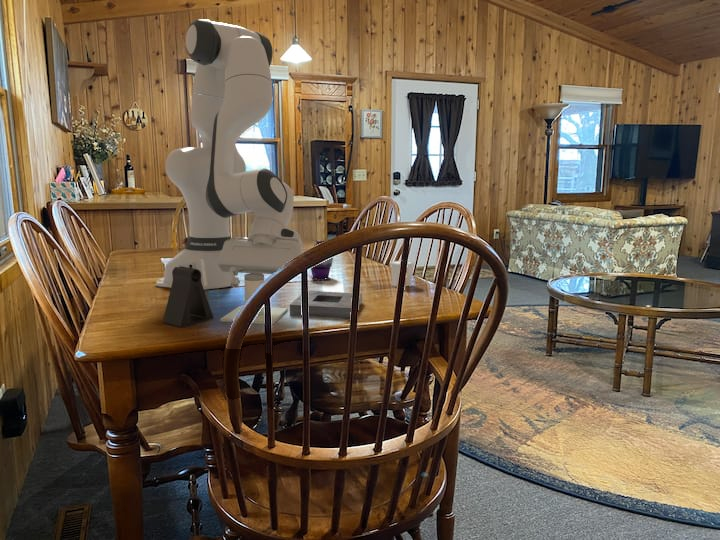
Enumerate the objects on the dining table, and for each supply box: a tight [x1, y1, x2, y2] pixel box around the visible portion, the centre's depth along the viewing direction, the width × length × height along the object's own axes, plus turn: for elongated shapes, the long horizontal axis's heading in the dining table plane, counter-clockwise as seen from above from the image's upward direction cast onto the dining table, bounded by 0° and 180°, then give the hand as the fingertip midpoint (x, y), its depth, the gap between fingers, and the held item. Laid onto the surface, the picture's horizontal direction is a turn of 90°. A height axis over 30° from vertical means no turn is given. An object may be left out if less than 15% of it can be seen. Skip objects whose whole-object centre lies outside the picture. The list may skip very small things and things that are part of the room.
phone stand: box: [162, 266, 214, 329], centre depth 116 cm, size 9×6×12 cm, turn 147°
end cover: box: [244, 273, 265, 316], centre depth 121 cm, size 4×4×9 cm
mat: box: [219, 305, 289, 326], centre depth 122 cm, size 12×12×1 cm
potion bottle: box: [310, 239, 334, 280], centre depth 166 cm, size 9×9×12 cm
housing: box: [289, 290, 363, 319], centre depth 130 cm, size 15×15×2 cm
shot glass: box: [390, 260, 415, 288], centre depth 158 cm, size 7×7×7 cm
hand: (253, 286), depth 120 cm, fingers open, 8 cm apart
